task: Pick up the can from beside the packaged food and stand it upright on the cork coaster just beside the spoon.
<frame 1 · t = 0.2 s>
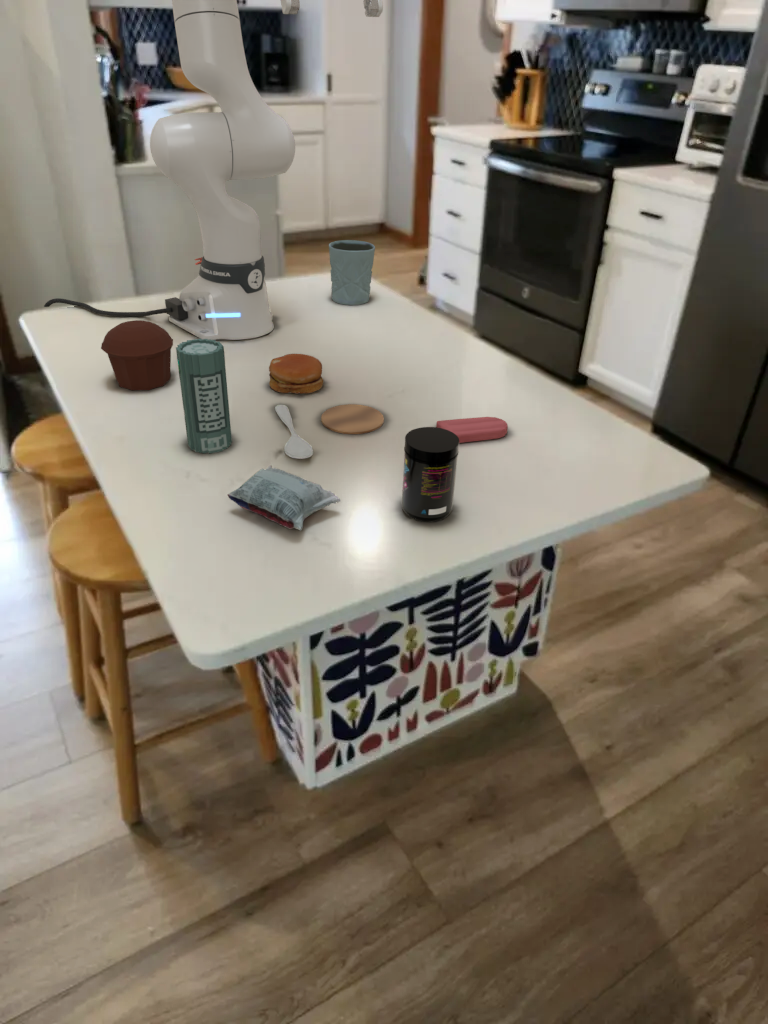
hand: (334, 12, 80), 54 cm above the table, tool tilted 30°, fingers open, 8 cm apart
supplement container: (426, 511, 97), on the table
can: (210, 444, 111), on the table
cork coaster: (352, 419, 119), on the table
spoon: (290, 435, 114), on the table
muffin: (143, 381, 129), on the table
burger: (295, 386, 129), on the table
popsicle: (460, 436, 116), on the table
packaged food: (285, 511, 96), on the table
drinking glass: (351, 299, 170), on the table
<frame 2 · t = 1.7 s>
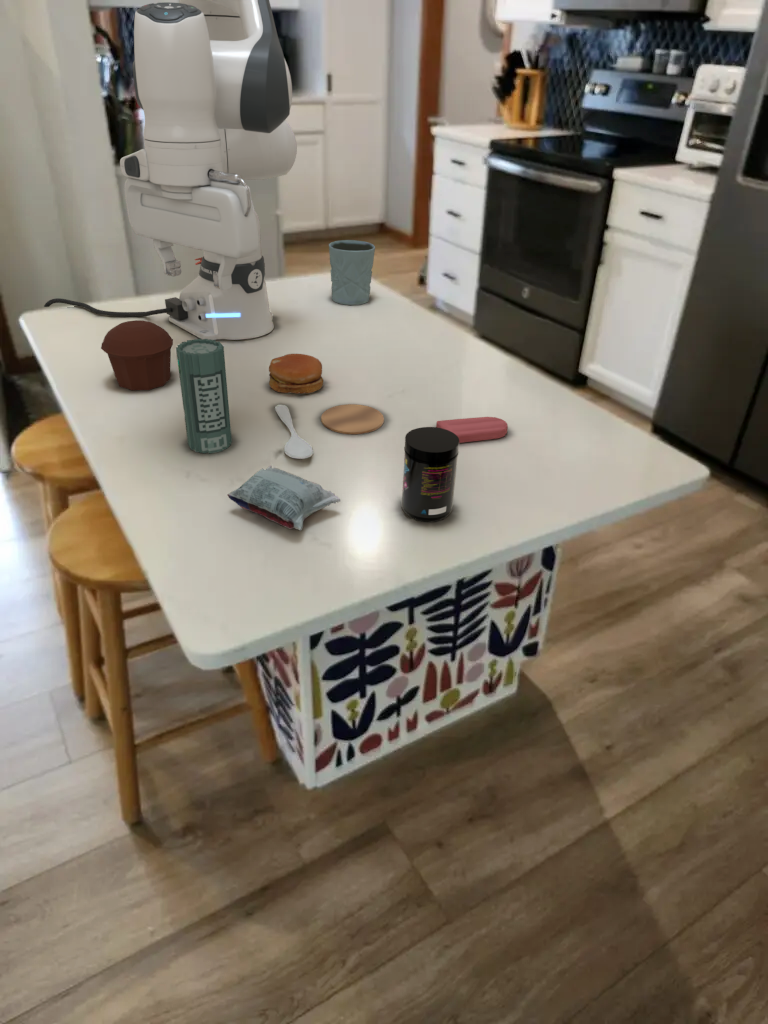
hand: (197, 281, 97), 24 cm above the table, tool pointing down, fingers open, 8 cm apart
nothing on the table moved.
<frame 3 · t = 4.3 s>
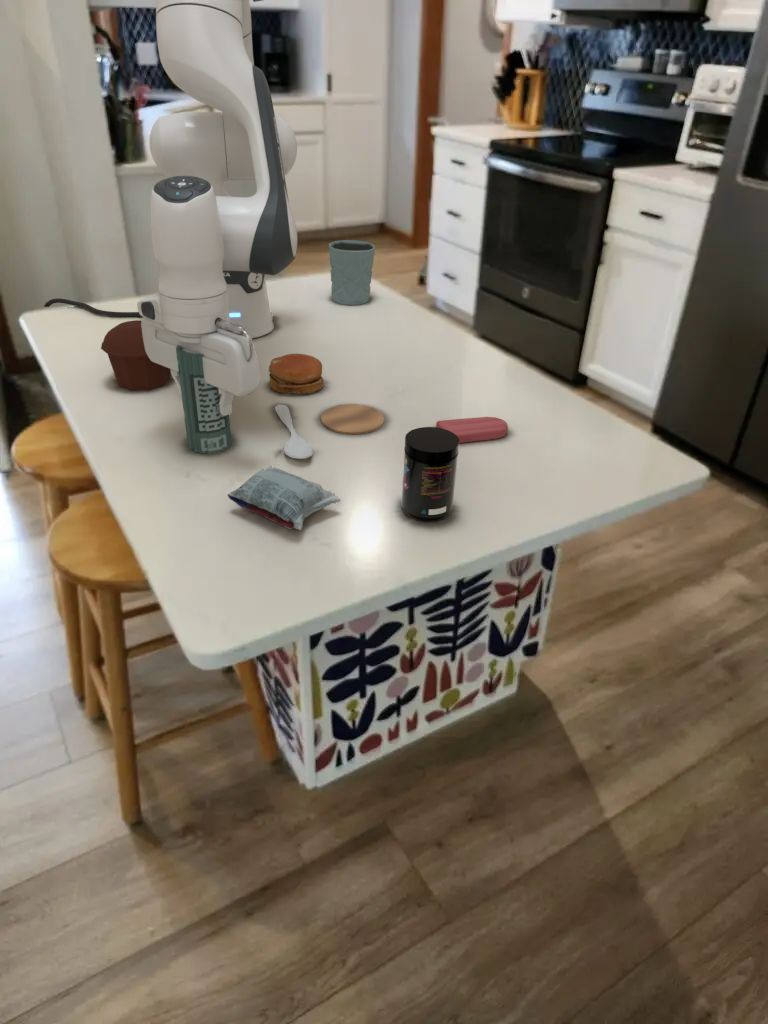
hand: (205, 405, 107), 6 cm above the table, tool pointing down, fingers closed on can, 6 cm apart
can: (210, 444, 110), on the table, touching gripper
everything else where it was.
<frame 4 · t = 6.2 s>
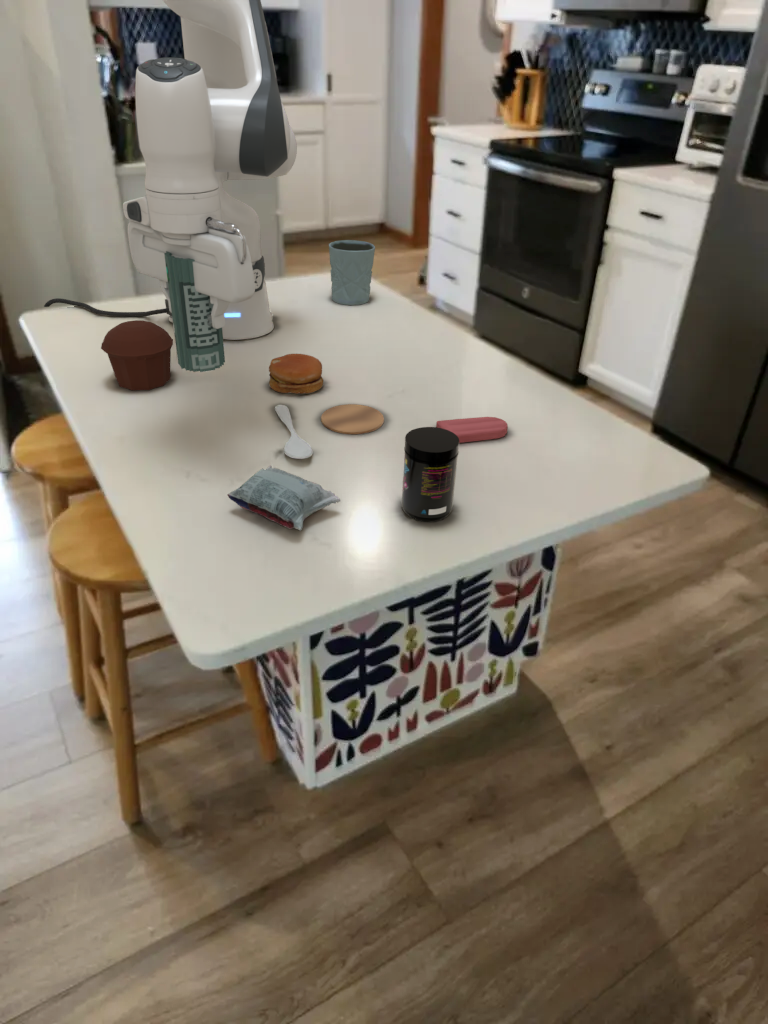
hand: (196, 319, 100), 19 cm above the table, tool pointing down, fingers closed on can, 6 cm apart
can: (201, 364, 104), point 12 cm above the table, touching gripper
everything else where it was.
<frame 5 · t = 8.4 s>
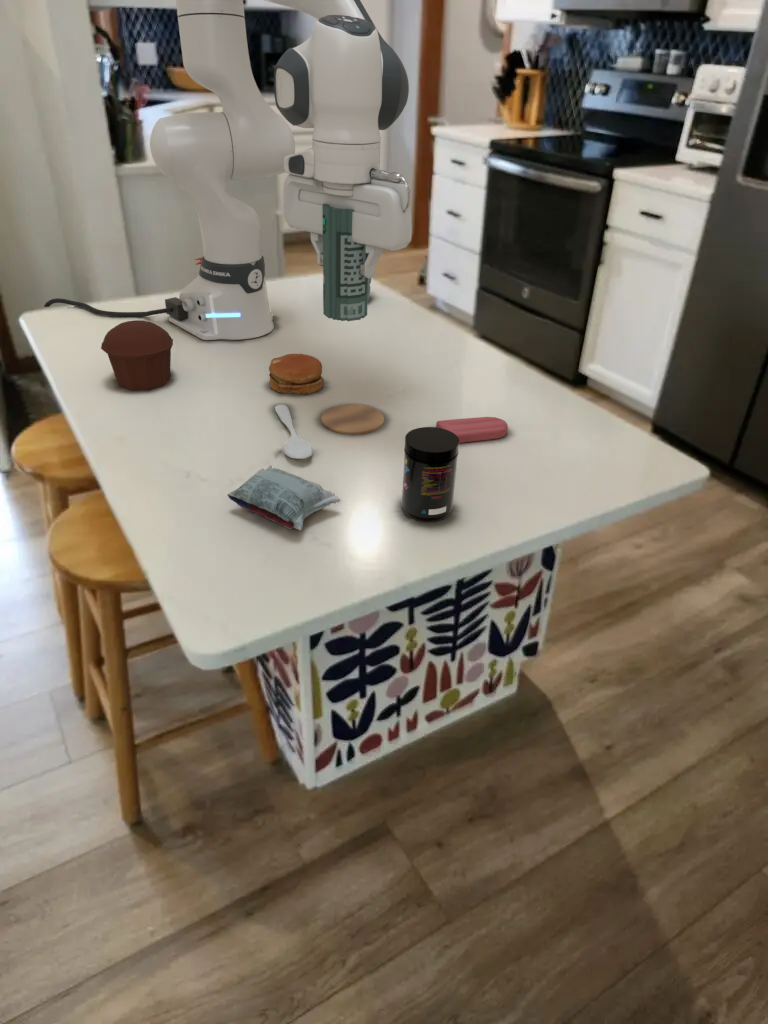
hand: (345, 271, 105), 24 cm above the table, tool pointing down, fingers closed on can, 6 cm apart
can: (345, 315, 109), point 17 cm above the table, touching gripper
everything else where it was.
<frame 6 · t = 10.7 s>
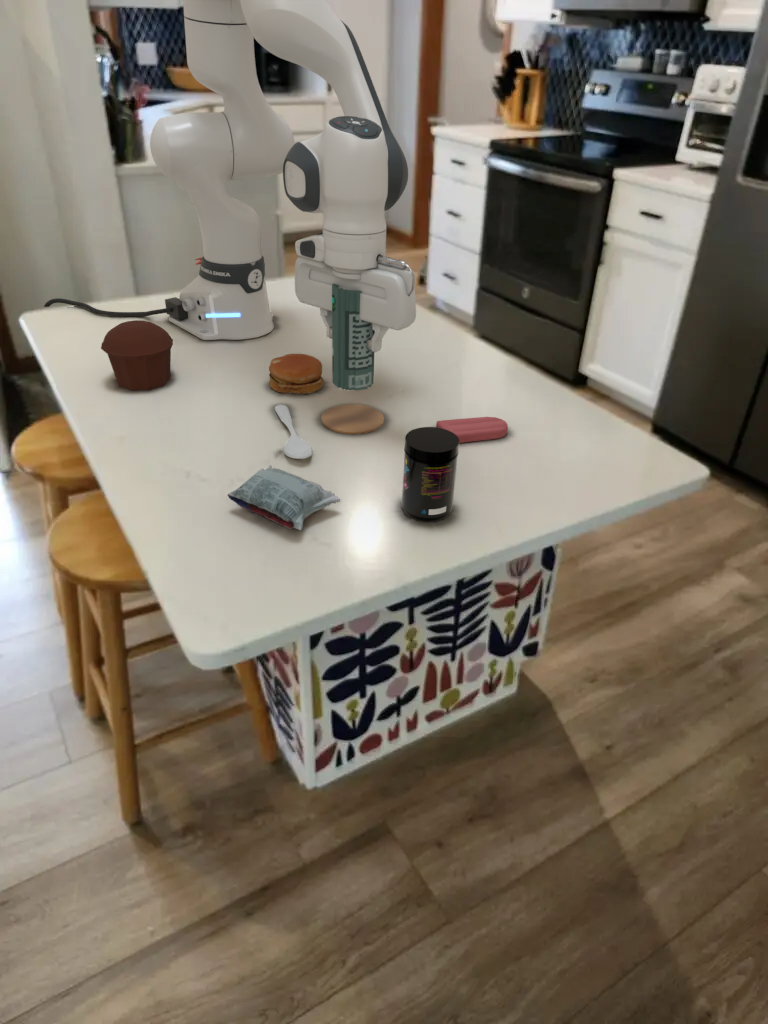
hand: (353, 344, 112), 13 cm above the table, tool pointing down, fingers closed on can, 6 cm apart
can: (353, 383, 115), point 6 cm above the table, touching gripper
everything else where it was.
when the fingers open (6 cm above the table, at t = 12.7 s): can stays where it is, resting on cork coaster.
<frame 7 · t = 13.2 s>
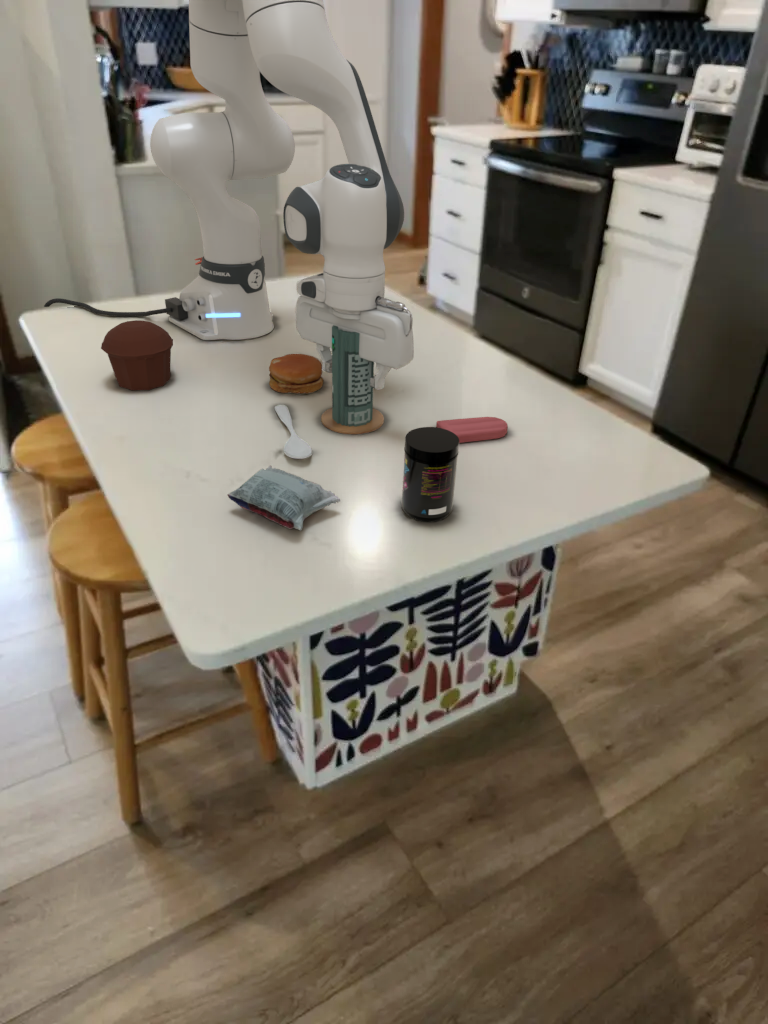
hand: (352, 379, 115), 7 cm above the table, tool pointing down, fingers open, 8 cm apart
can: (352, 418, 118), resting on cork coaster
everything else where it was.
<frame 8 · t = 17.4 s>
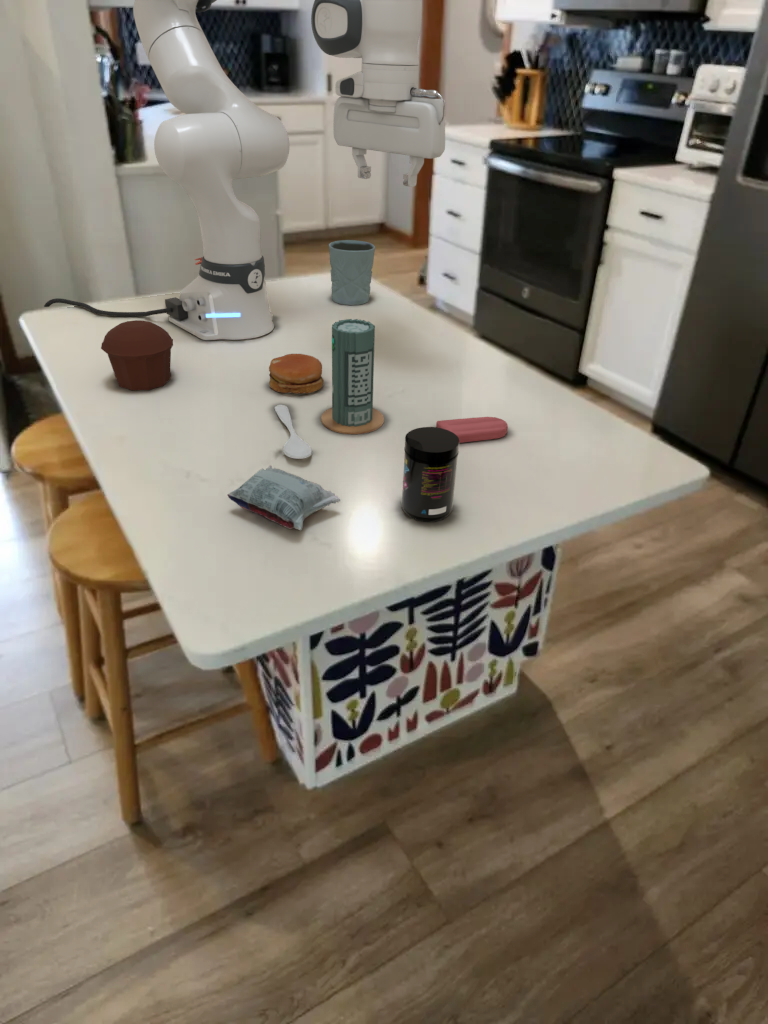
hand: (386, 182, 123), 31 cm above the table, tool pointing down, fingers open, 8 cm apart
nothing on the table moved.
at the end: can inside the target area on the table beside the spoon (1.2 cm from its centre), resting on cork coaster; can tilted 0°; spoon moved 0.2 cm from its start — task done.
